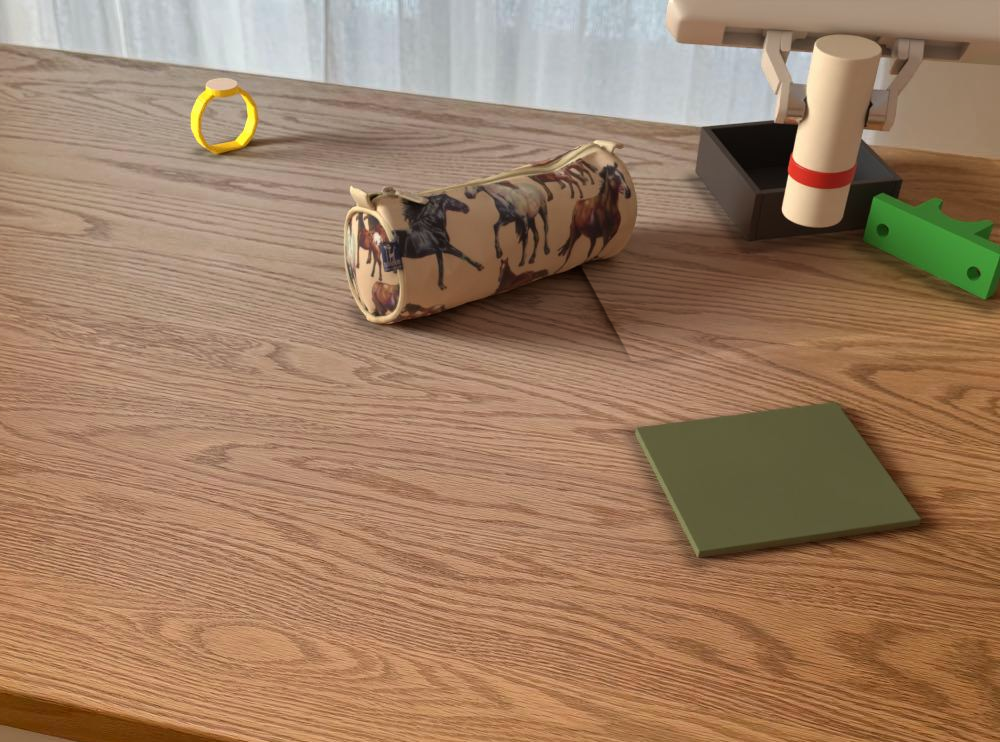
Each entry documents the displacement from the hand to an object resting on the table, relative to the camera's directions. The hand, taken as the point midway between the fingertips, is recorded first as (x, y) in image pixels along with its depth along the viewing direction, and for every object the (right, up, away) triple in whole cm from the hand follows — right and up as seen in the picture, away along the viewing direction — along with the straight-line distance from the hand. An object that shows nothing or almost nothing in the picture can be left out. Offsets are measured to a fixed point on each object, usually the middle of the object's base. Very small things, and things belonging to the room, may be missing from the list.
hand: (833, 124), depth 70 cm
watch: (-42, +11, +41) cm, 60 cm away
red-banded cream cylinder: (0, -4, +5) cm, 6 cm away
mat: (-2, -20, +8) cm, 21 cm away
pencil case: (-19, -4, +24) cm, 31 cm away
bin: (+6, +4, +34) cm, 34 cm away
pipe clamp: (+16, -3, +26) cm, 30 cm away
